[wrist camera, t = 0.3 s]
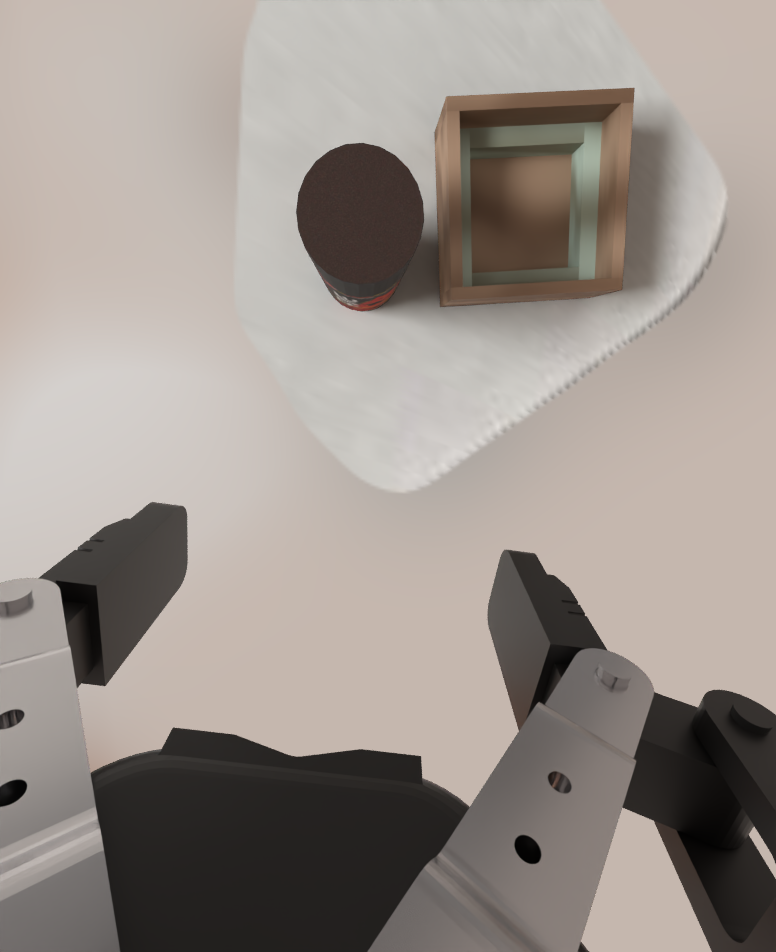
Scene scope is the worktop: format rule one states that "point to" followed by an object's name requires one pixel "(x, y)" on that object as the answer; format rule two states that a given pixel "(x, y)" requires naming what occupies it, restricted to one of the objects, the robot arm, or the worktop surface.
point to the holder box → (532, 195)
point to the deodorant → (360, 222)
